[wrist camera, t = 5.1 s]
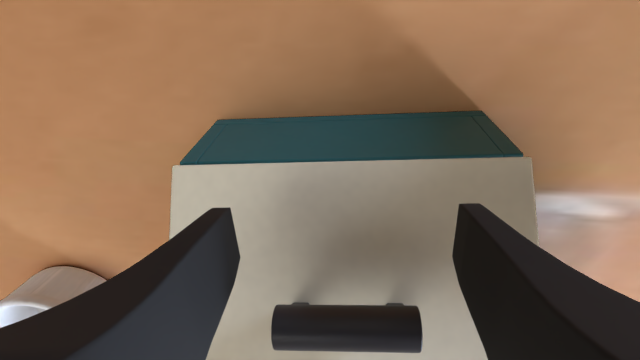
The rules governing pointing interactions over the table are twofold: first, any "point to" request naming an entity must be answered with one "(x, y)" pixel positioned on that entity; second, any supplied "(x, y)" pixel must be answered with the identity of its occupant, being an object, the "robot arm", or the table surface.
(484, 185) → the lid
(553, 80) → the table surface
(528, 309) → the robot arm
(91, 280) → the ramekin
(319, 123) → the cool box
